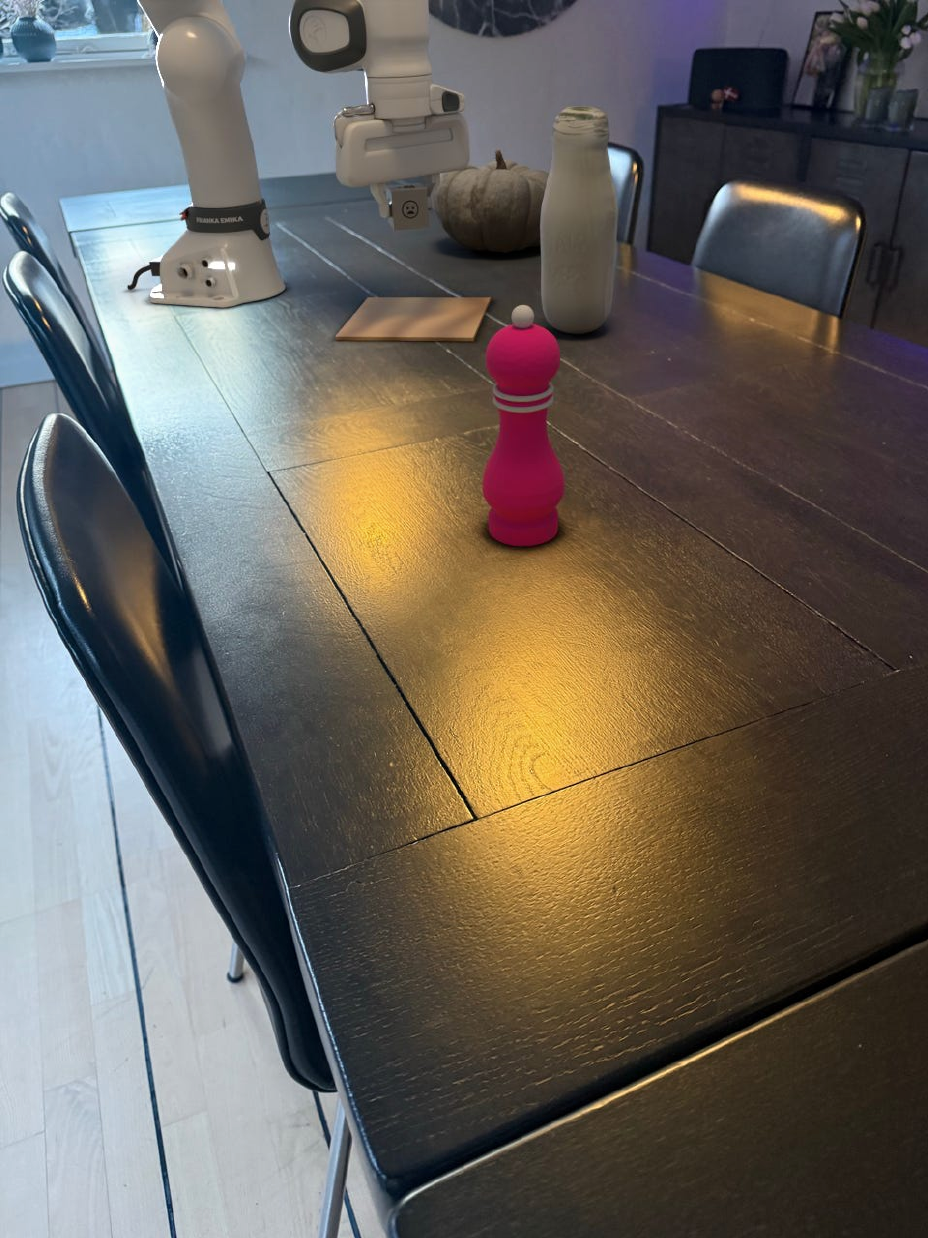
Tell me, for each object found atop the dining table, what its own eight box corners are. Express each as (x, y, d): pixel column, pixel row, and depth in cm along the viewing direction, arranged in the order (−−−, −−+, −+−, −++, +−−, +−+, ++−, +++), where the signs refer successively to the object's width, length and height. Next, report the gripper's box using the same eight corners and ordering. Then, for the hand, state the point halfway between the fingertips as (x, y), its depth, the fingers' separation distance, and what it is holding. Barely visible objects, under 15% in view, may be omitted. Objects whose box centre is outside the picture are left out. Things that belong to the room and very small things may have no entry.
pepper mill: (479, 514, 84) (472, 295, 73) (556, 508, 84) (560, 289, 73) (488, 553, 78) (481, 322, 67) (569, 546, 78) (577, 315, 67)
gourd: (405, 243, 165) (414, 137, 157) (457, 238, 186) (467, 144, 177) (532, 266, 158) (549, 157, 150) (571, 258, 179) (587, 161, 170)
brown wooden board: (335, 340, 129) (335, 336, 128) (368, 300, 145) (367, 297, 144) (473, 341, 126) (473, 337, 125) (490, 301, 142) (490, 297, 142)
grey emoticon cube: (429, 227, 126) (427, 188, 123) (394, 230, 125) (391, 191, 122) (422, 220, 130) (420, 182, 127) (388, 223, 129) (385, 185, 126)
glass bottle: (616, 322, 130) (629, 101, 114) (602, 344, 122) (613, 110, 106) (550, 318, 133) (554, 101, 117) (532, 339, 125) (533, 110, 109)
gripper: (345, 109, 112) (356, 228, 119) (474, 95, 121) (477, 205, 129) (320, 106, 116) (332, 221, 124) (447, 92, 126) (451, 200, 133)
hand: (407, 213), depth 127 cm, fingers closed on grey emoticon cube, 5 cm apart
